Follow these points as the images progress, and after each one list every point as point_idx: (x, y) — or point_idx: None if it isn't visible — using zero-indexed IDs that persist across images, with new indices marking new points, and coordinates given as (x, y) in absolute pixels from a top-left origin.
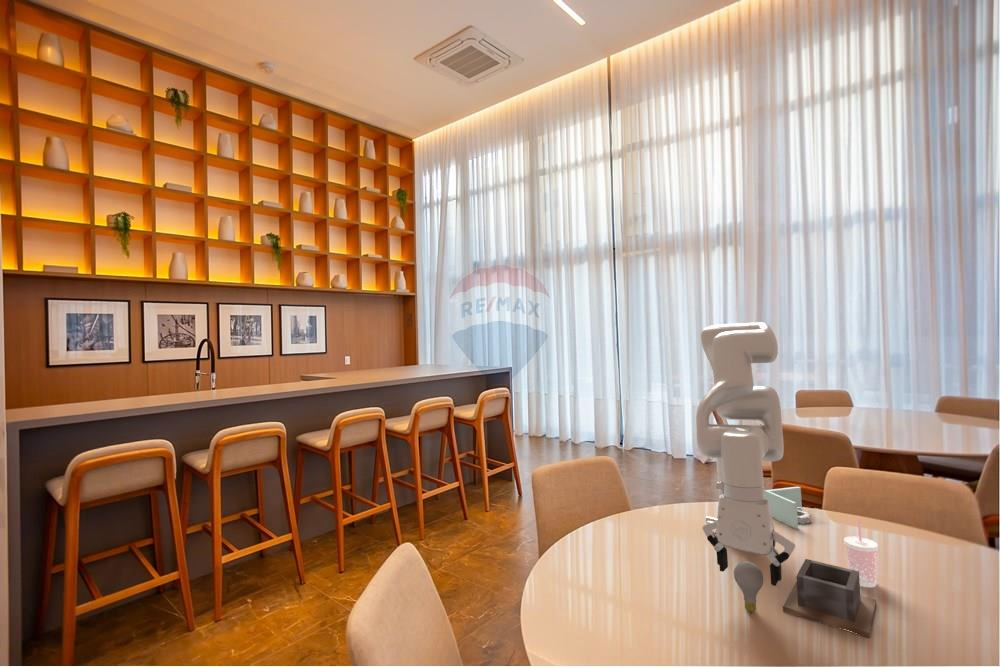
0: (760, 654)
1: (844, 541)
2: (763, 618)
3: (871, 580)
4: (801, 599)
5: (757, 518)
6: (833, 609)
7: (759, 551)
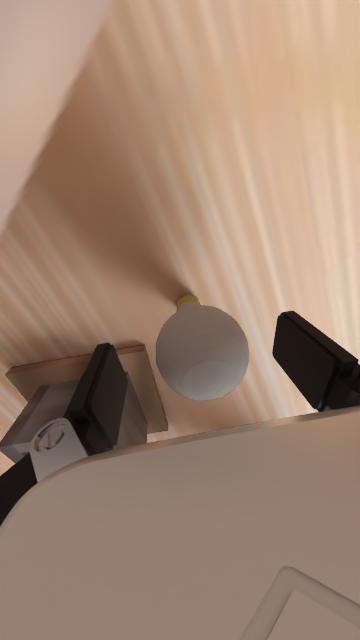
0: (78, 123)
1: None
2: (157, 297)
3: None
4: None
5: None
6: (65, 390)
7: (88, 485)
